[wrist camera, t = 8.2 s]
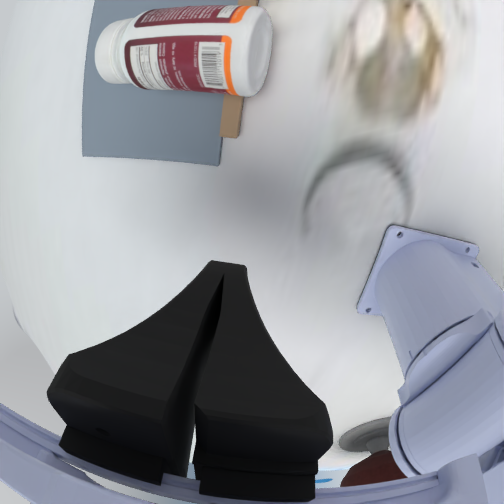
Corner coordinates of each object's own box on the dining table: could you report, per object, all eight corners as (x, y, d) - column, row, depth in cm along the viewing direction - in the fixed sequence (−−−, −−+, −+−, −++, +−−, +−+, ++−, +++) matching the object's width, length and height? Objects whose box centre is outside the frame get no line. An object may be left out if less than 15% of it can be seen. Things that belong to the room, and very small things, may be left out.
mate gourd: (424, 429, 37) (442, 527, 20) (352, 455, 42) (358, 549, 24) (405, 399, 31) (431, 535, 14) (313, 433, 36) (315, 557, 19)
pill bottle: (278, 35, 13) (148, 33, 14) (264, -12, 8) (107, 2, 9) (259, 109, 14) (128, 97, 15) (237, 79, 10) (78, 79, 11)
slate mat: (264, -36, 11) (264, -43, 10) (234, 166, 18) (232, 170, 17) (104, -24, 11) (96, -28, 10) (86, 154, 18) (77, 158, 17)
